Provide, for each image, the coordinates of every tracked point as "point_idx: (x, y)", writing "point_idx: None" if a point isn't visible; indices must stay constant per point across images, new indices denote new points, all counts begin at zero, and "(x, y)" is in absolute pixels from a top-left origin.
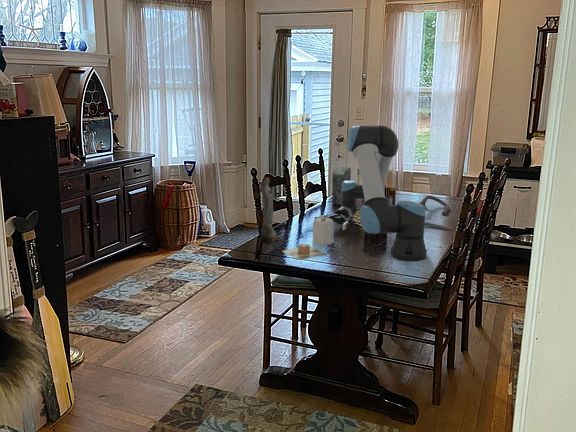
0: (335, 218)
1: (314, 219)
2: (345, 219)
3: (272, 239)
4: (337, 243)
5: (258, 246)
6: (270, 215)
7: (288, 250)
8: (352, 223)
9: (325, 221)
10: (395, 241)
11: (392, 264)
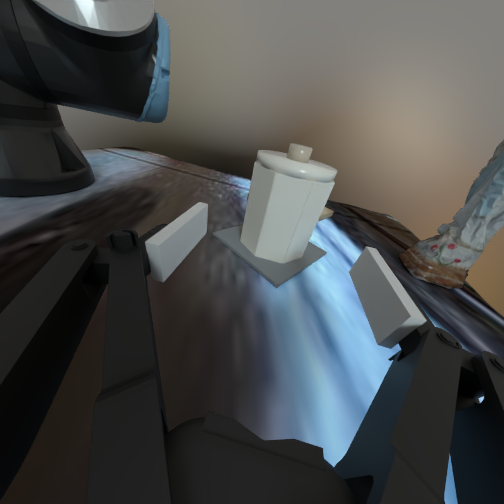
0: (290, 445)
1: (334, 169)
2: (146, 303)
3: (406, 250)
4: (226, 241)
5: (401, 243)
6: (473, 183)
7: (323, 211)
8: (106, 254)
9: (284, 155)
10: (68, 138)
11: (125, 170)
